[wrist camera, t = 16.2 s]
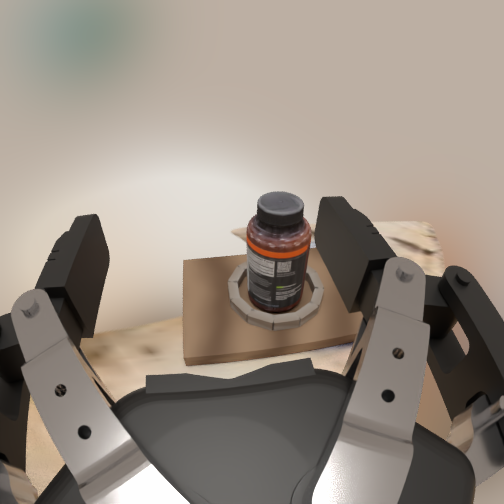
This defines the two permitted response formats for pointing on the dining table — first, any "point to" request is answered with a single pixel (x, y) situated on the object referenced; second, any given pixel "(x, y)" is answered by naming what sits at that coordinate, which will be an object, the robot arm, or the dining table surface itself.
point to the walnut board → (257, 314)
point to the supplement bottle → (277, 252)
